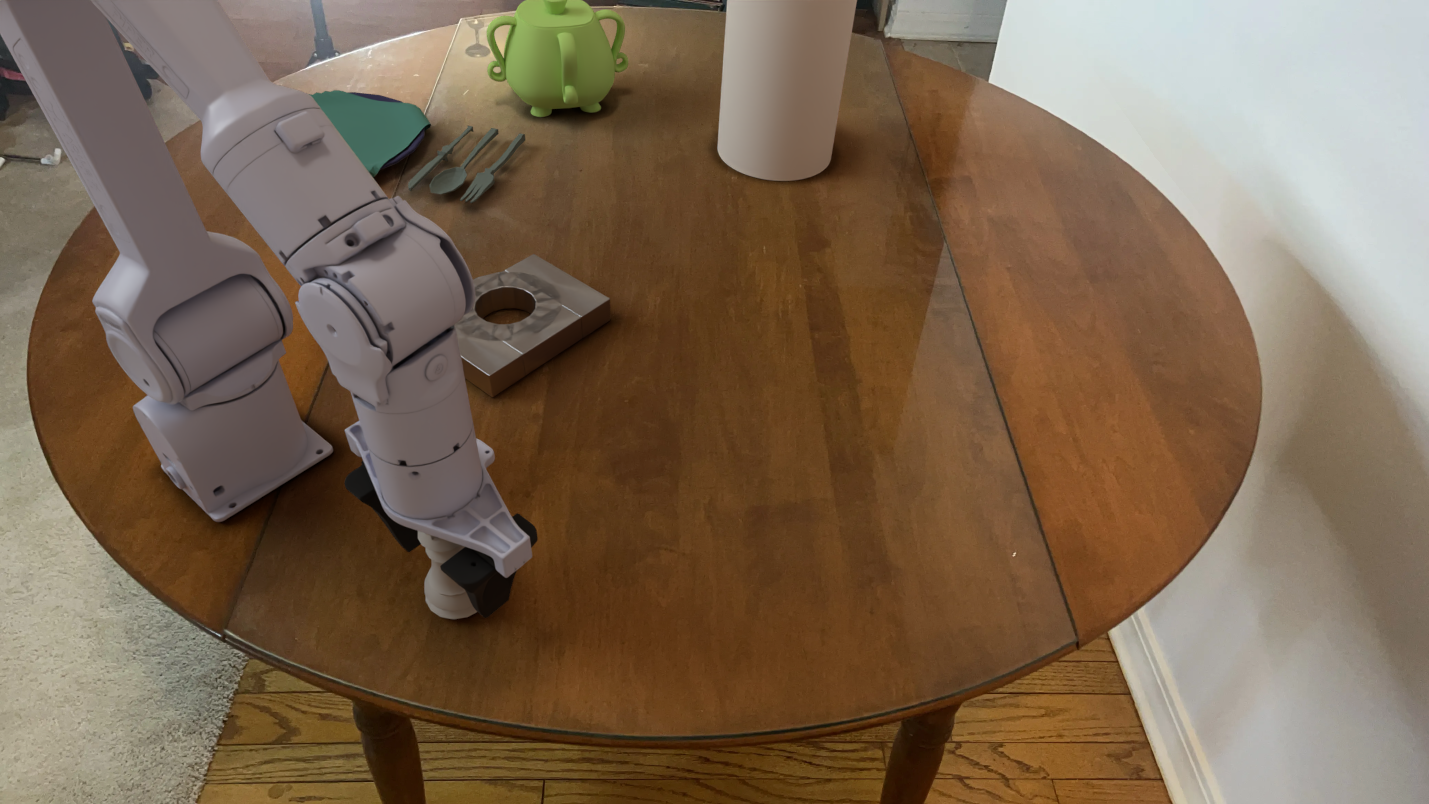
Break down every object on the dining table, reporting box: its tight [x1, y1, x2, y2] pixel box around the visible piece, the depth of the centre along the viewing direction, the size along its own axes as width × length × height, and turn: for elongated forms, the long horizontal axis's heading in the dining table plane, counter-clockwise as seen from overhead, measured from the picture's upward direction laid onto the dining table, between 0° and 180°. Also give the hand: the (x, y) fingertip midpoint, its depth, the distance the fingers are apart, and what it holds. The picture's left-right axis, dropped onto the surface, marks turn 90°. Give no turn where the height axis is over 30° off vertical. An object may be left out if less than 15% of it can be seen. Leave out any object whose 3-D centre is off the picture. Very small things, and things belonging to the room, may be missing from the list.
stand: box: [454, 253, 612, 398], centre depth 80 cm, size 14×11×2 cm
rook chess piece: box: [418, 531, 478, 620], centre depth 58 cm, size 4×4×8 cm
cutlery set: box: [308, 89, 526, 204], centre depth 100 cm, size 20×30×2 cm, turn 75°
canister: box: [716, 0, 858, 182], centre depth 100 cm, size 14×14×20 cm
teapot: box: [486, 0, 629, 118], centre depth 109 cm, size 16×14×13 cm
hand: (455, 572), depth 59 cm, fingers open, 7 cm apart
